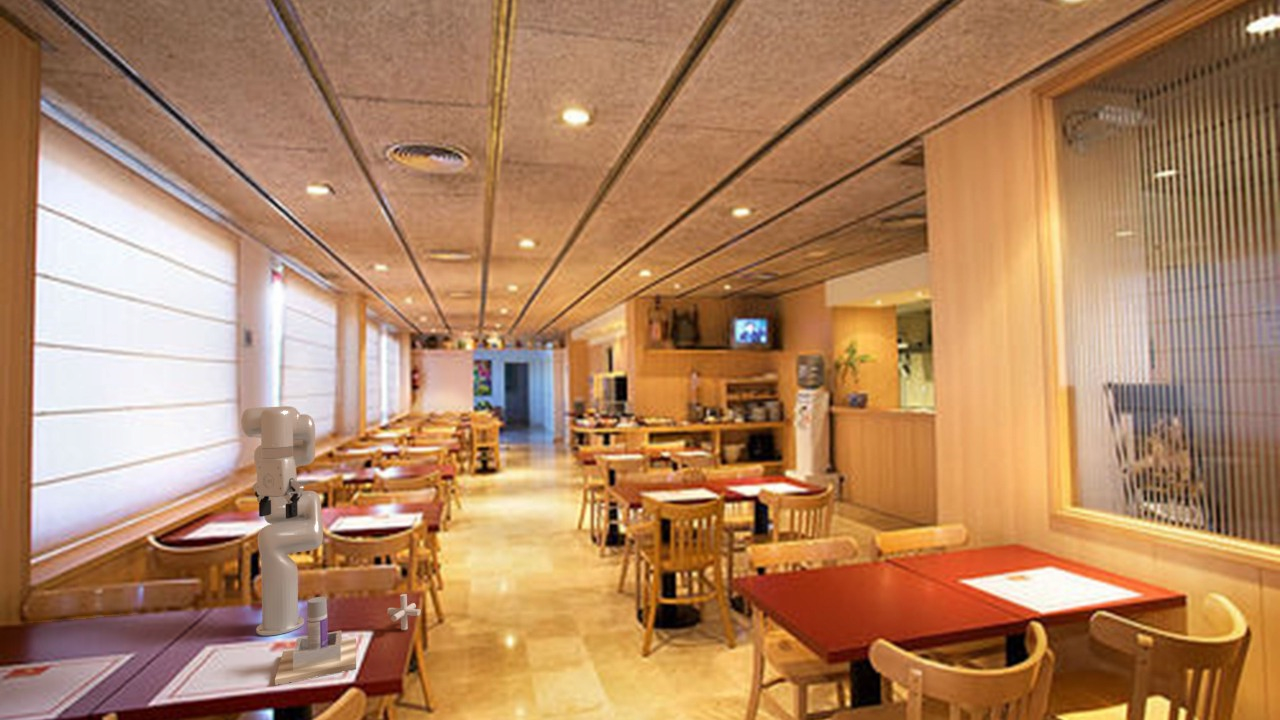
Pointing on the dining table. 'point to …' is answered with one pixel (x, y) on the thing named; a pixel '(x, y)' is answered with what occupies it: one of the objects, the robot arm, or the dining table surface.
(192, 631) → the dining table surface
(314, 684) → the dining table surface
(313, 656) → the duct collar
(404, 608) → the pipe connector
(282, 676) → the birch board
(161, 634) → the dining table surface
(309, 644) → the container
